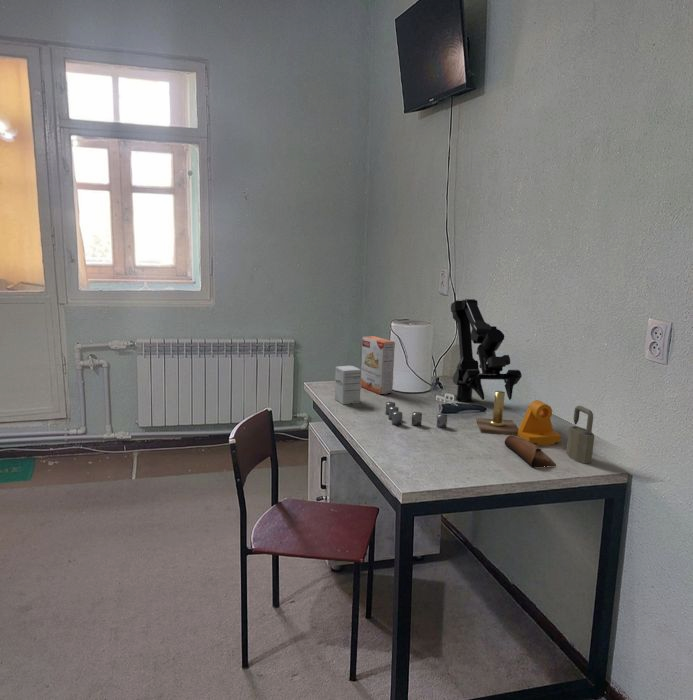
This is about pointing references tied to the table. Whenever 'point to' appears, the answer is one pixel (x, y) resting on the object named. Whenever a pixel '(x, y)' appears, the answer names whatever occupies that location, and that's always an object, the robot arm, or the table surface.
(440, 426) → the cylinder
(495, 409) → the brass pin
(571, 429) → the padlock
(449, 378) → the table surface
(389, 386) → the cracker box
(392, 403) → the dark grey domed cylinder
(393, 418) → the cylinder
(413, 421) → the dark gray domed cylinder
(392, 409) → the dark grey domed cylinder
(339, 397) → the supplement box
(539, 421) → the bracket
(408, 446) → the table surface
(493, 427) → the board
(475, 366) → the robot arm
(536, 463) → the sunglasses case
